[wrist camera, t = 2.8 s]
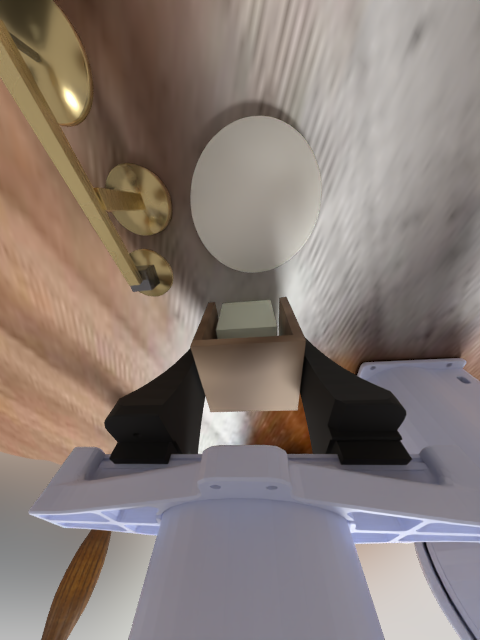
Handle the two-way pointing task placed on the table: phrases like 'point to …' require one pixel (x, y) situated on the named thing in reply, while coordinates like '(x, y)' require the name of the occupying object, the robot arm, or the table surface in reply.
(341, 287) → the table surface
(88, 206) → the balance
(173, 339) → the table surface
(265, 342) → the cover
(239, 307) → the block
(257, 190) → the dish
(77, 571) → the hand bell
